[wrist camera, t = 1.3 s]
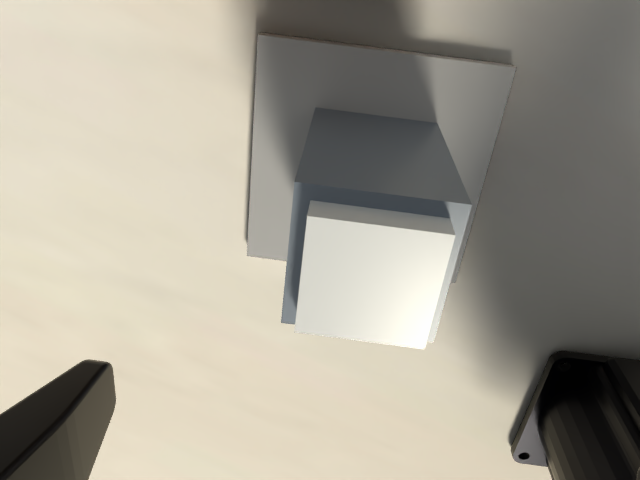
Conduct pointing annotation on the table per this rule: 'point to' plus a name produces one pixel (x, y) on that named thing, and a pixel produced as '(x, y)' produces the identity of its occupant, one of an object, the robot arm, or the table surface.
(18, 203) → the table surface
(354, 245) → the plug
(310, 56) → the pad
